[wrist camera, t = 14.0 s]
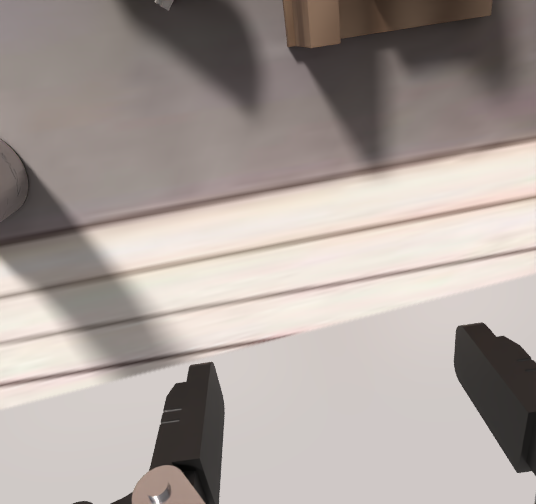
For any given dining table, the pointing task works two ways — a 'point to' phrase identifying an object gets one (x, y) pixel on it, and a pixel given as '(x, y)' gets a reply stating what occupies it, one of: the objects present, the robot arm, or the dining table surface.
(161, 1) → the food container
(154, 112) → the dining table surface
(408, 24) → the wooden shelf
